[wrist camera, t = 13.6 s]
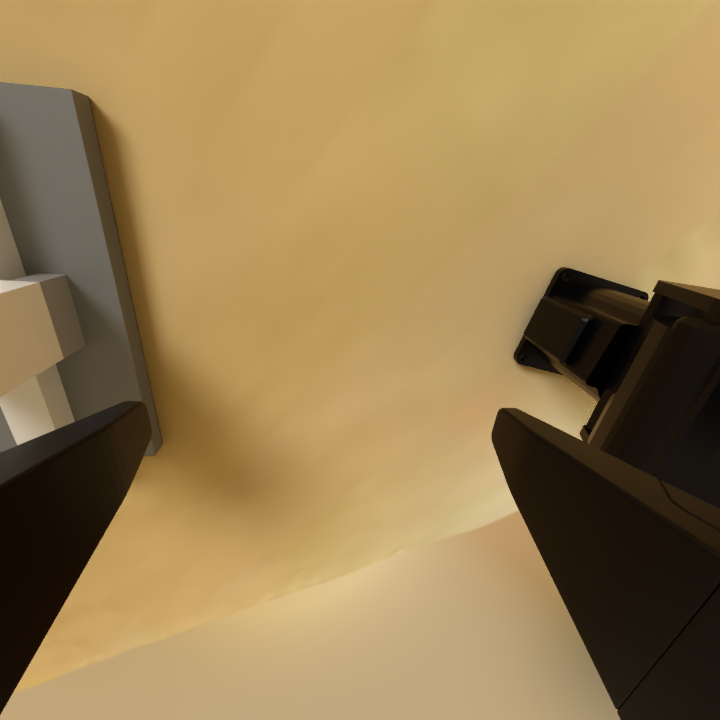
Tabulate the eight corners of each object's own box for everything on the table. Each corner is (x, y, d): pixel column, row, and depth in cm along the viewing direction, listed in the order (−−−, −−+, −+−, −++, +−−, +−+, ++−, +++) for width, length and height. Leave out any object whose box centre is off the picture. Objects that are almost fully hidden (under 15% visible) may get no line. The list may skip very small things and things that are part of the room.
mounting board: (-186, 69, 15) (-287, 44, 12) (88, 96, 16) (44, 78, 13) (-9, 442, 23) (-49, 471, 21) (162, 444, 24) (143, 471, 22)
